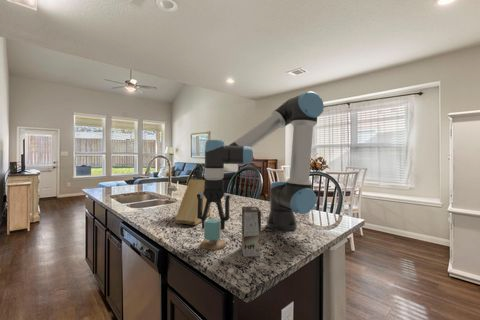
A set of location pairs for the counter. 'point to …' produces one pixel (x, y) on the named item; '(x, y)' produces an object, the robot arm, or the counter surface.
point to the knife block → (192, 199)
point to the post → (213, 244)
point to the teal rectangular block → (212, 229)
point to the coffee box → (251, 231)
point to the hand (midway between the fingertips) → (213, 236)
